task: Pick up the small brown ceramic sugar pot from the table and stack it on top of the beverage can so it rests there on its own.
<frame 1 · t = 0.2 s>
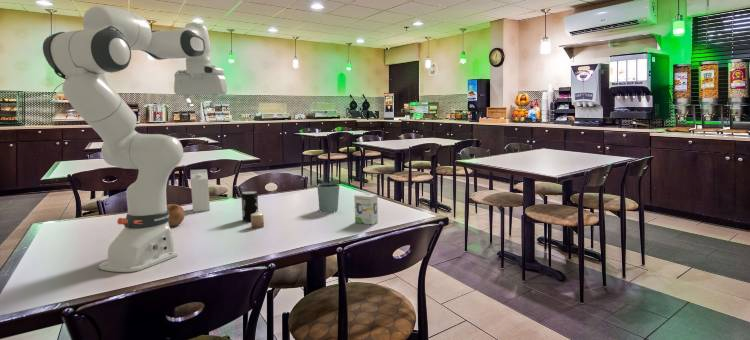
hand: (201, 107, 161), 47 cm above the table, tool pointing down, fingers open, 8 cm apart
grey green pot: (328, 210, 196), on the table
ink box: (366, 223, 175), on the table
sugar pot: (257, 226, 170), on the table
milk carton: (201, 210, 199), on the table
onion: (172, 225, 173), on the table
beverage can: (250, 220, 180), on the table
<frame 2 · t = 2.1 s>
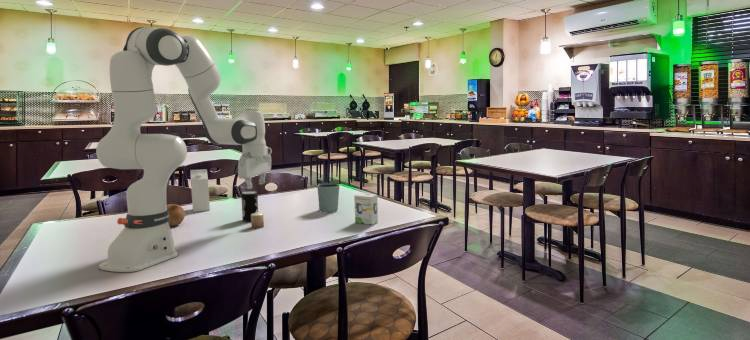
hand: (256, 186, 167), 16 cm above the table, tool pointing down, fingers open, 8 cm apart
nothing on the table moved.
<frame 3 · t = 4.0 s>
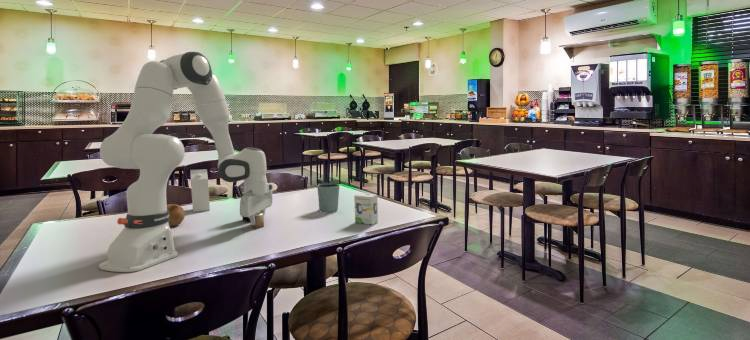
hand: (257, 222, 169), 2 cm above the table, tool pointing down, fingers closed on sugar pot, 5 cm apart
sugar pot: (257, 226, 170), on the table, touching gripper
everything else where it was.
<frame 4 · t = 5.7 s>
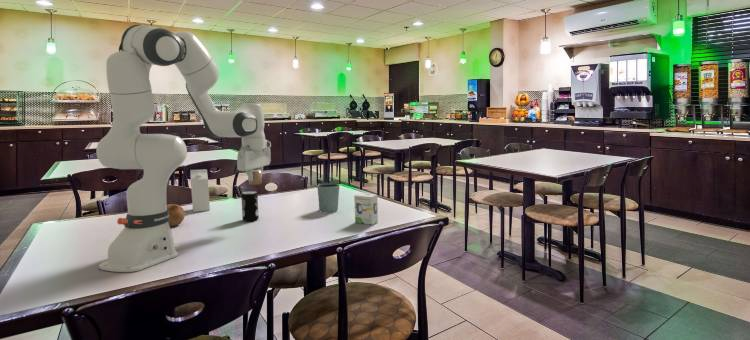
hand: (255, 179, 168), 19 cm above the table, tool pointing down, fingers closed on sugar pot, 5 cm apart
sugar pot: (255, 183, 168), point 17 cm above the table, touching gripper
everything else where it was.
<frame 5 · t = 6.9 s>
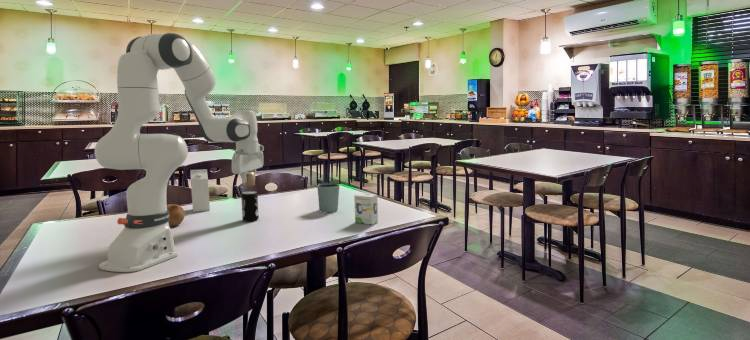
hand: (248, 181, 178), 17 cm above the table, tool pointing down, fingers closed on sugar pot, 5 cm apart
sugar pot: (249, 185, 178), point 15 cm above the table, touching gripper
everything else where it was.
when the fingers open (15 cm above the table, at t = 7.6 s): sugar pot stays where it is, resting on beverage can.
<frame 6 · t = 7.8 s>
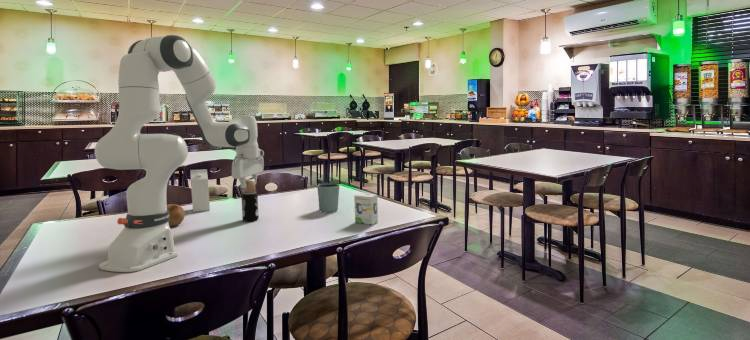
hand: (249, 186, 178), 15 cm above the table, tool pointing down, fingers open, 7 cm apart
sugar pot: (249, 192, 178), point 12 cm above the table, touching beverage can
beverage can: (250, 220, 180), on the table, touching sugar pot
everything else where it was.
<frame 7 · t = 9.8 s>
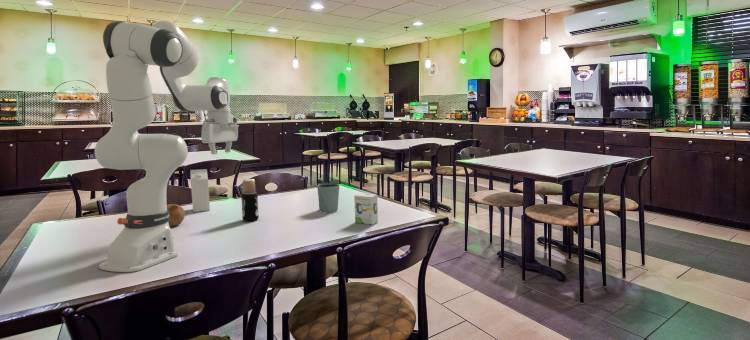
hand: (221, 153, 173), 29 cm above the table, tool pointing down, fingers open, 8 cm apart
nothing on the table moved.
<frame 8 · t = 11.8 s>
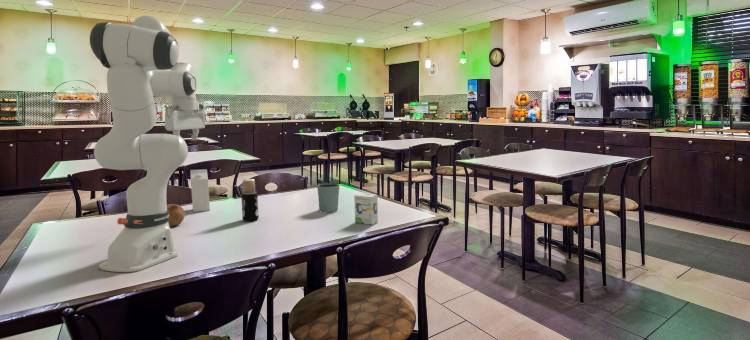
hand: (187, 141, 169), 34 cm above the table, tool pointing down, fingers open, 8 cm apart
nothing on the table moved.
at the end: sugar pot 0.0 cm from the beverage can (horizontally); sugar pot point 12.0 cm above the table; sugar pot tilted 0° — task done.
